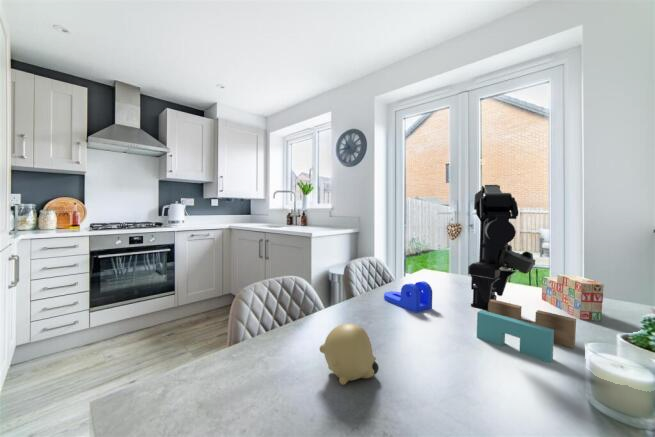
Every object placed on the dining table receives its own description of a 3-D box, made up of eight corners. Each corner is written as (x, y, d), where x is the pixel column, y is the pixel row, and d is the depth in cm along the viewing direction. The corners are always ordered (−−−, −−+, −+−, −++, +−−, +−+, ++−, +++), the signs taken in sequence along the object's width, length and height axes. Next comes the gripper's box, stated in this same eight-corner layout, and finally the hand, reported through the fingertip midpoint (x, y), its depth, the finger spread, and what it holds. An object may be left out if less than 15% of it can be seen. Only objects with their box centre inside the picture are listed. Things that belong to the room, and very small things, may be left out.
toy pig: (361, 407, 53) (397, 362, 56) (325, 371, 49) (364, 325, 52) (339, 377, 62) (370, 340, 65) (306, 345, 58) (341, 307, 61)
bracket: (432, 309, 98) (432, 283, 98) (415, 313, 93) (416, 286, 93) (394, 295, 113) (395, 273, 113) (379, 298, 109) (380, 275, 109)
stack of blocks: (540, 299, 111) (542, 268, 110) (558, 300, 110) (559, 269, 109) (580, 320, 90) (581, 282, 89) (602, 321, 89) (604, 283, 88)
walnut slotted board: (487, 323, 86) (488, 300, 85) (490, 321, 87) (491, 299, 87) (573, 348, 70) (574, 321, 70) (575, 345, 72) (576, 318, 72)
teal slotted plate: (476, 337, 76) (477, 312, 76) (480, 334, 77) (481, 309, 77) (550, 362, 63) (551, 332, 63) (552, 358, 65) (554, 329, 65)
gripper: (520, 245, 61) (517, 315, 62) (542, 241, 73) (540, 299, 74) (468, 241, 70) (466, 302, 70) (495, 237, 82) (493, 290, 82)
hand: (493, 298), depth 74 cm, fingers open, 9 cm apart
